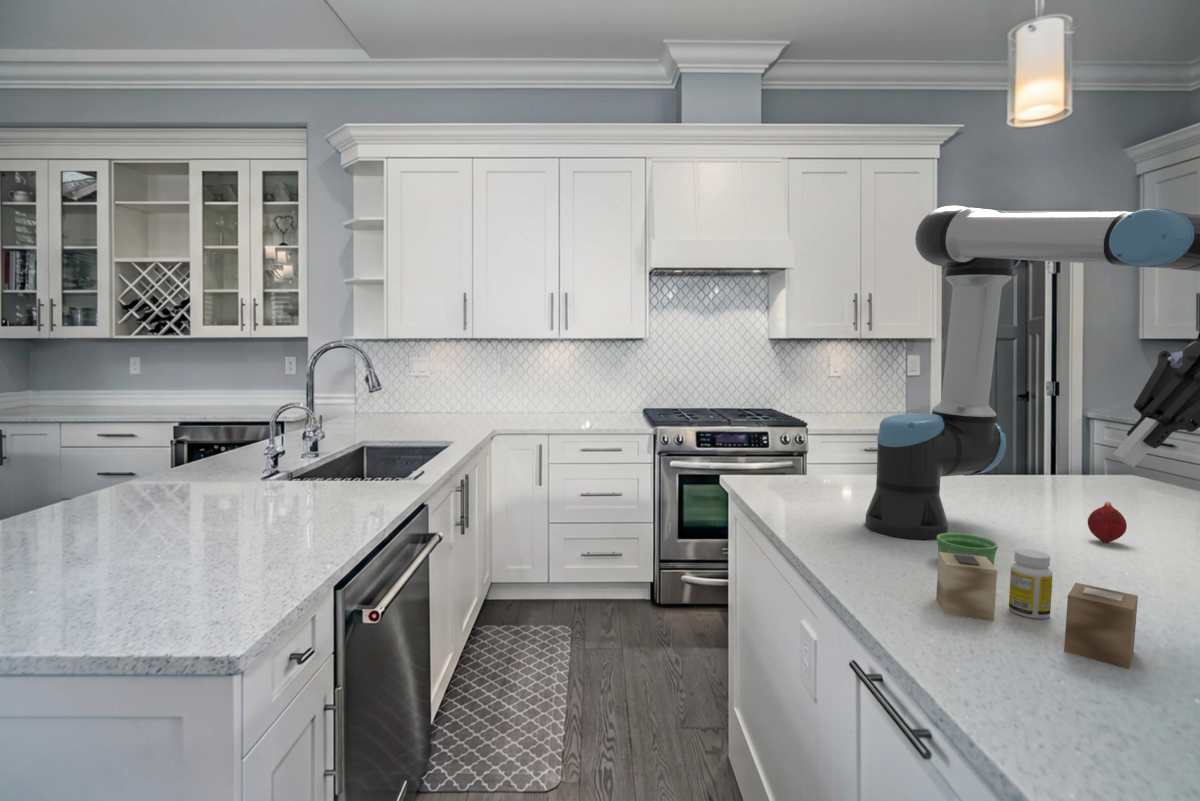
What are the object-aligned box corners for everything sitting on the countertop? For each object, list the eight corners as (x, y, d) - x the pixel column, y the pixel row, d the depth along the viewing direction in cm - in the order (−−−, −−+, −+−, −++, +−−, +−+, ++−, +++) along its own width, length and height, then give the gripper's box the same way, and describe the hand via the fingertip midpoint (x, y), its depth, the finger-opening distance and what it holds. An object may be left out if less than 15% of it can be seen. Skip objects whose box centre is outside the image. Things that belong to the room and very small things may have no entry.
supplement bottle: (1043, 608, 88) (1047, 550, 88) (1055, 622, 84) (1059, 560, 83) (1004, 603, 90) (1007, 546, 89) (1013, 616, 86) (1017, 556, 85)
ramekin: (925, 563, 108) (926, 538, 107) (949, 553, 113) (951, 529, 113) (982, 578, 101) (984, 551, 100) (1005, 567, 106) (1007, 542, 106)
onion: (1132, 548, 117) (1135, 506, 116) (1097, 546, 118) (1100, 504, 118) (1113, 539, 123) (1116, 499, 122) (1080, 537, 124) (1083, 497, 123)
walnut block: (1063, 651, 76) (1068, 593, 75) (1071, 636, 80) (1075, 581, 79) (1128, 669, 71) (1133, 607, 71) (1133, 652, 76) (1138, 594, 75)
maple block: (943, 614, 86) (946, 563, 86) (936, 598, 92) (938, 550, 91) (994, 621, 84) (997, 568, 84) (983, 604, 90) (986, 555, 89)
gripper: (1324, 348, 79) (1184, 493, 83) (1216, 329, 91) (1099, 456, 95) (1291, 314, 77) (1150, 464, 81) (1186, 300, 89) (1068, 431, 94)
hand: (1123, 460), depth 88 cm, fingers closed
